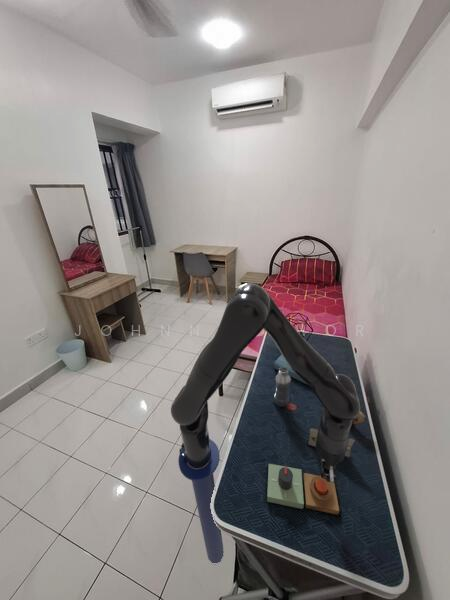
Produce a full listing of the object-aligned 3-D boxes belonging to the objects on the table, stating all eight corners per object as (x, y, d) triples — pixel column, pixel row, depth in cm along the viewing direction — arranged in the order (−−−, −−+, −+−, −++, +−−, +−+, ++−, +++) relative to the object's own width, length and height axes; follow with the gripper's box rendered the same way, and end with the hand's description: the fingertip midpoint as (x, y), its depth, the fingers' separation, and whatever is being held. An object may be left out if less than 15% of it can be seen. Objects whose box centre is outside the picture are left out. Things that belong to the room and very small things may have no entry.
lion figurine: (363, 427, 97) (368, 412, 93) (356, 435, 94) (361, 420, 90) (330, 403, 107) (333, 389, 103) (323, 410, 105) (326, 395, 101)
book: (327, 371, 126) (328, 363, 123) (314, 389, 115) (316, 382, 113) (288, 354, 139) (288, 347, 137) (273, 369, 129) (274, 362, 127)
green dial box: (267, 501, 76) (267, 496, 75) (268, 468, 85) (268, 463, 84) (303, 509, 74) (304, 504, 73) (300, 474, 83) (301, 469, 81)
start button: (315, 493, 74) (316, 490, 74) (314, 481, 78) (314, 477, 77) (327, 496, 74) (328, 493, 73) (326, 483, 77) (326, 480, 76)
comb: (307, 447, 91) (309, 430, 86) (307, 441, 93) (310, 424, 88) (350, 460, 86) (355, 443, 81) (349, 454, 88) (354, 436, 83)
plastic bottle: (275, 395, 113) (277, 362, 104) (290, 400, 110) (293, 367, 102) (272, 406, 108) (273, 372, 99) (287, 411, 105) (290, 377, 96)
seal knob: (292, 491, 76) (293, 483, 74) (278, 488, 77) (278, 480, 74) (291, 476, 80) (292, 467, 77) (278, 473, 80) (278, 465, 78)
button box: (305, 507, 74) (306, 501, 72) (303, 476, 82) (304, 469, 80) (338, 514, 72) (340, 508, 70) (332, 481, 80) (334, 475, 78)
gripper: (314, 416, 71) (309, 451, 79) (320, 462, 60) (313, 498, 67) (341, 419, 70) (333, 455, 77) (353, 467, 58) (342, 504, 66)
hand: (324, 475), depth 72 cm, fingers closed
